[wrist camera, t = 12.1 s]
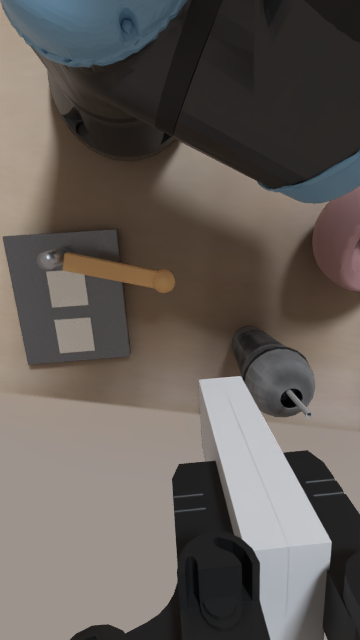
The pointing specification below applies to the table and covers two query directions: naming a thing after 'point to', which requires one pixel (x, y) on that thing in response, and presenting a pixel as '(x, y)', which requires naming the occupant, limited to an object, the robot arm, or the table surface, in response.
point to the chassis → (67, 297)
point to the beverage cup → (273, 373)
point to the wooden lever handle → (119, 272)
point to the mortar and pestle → (339, 241)
